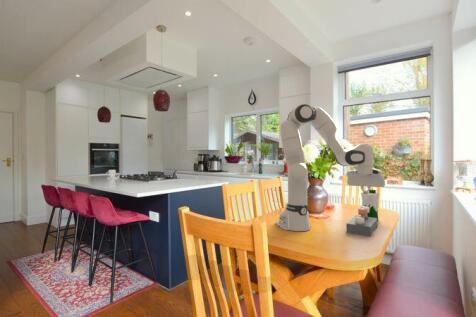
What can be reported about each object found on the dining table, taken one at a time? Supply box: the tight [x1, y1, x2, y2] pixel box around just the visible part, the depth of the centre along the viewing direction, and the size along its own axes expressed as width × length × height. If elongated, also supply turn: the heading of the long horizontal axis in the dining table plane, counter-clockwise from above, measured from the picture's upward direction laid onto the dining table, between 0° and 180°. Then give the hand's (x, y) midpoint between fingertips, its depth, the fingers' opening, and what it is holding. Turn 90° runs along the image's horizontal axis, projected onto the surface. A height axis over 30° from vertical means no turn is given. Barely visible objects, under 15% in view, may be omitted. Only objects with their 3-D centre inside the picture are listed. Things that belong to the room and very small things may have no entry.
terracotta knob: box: [357, 207, 367, 218], centre depth 146 cm, size 5×5×7 cm
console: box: [345, 214, 378, 237], centre depth 146 cm, size 24×12×5 cm, turn 144°
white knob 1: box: [354, 216, 364, 225], centre depth 139 cm, size 5×5×7 cm
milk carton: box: [360, 189, 380, 222], centre depth 167 cm, size 9×9×20 cm
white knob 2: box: [360, 206, 369, 219], centre depth 152 cm, size 5×5×7 cm
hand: (365, 193), depth 152 cm, fingers closed
